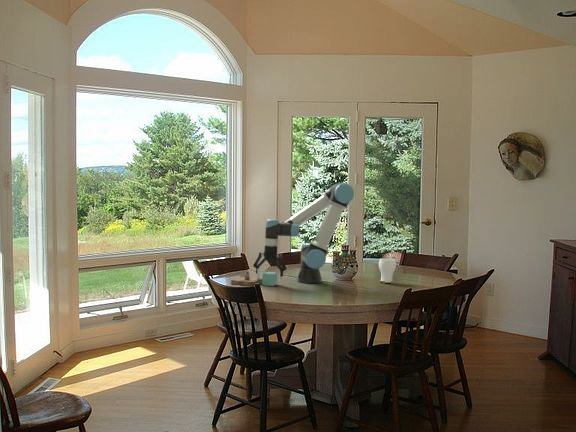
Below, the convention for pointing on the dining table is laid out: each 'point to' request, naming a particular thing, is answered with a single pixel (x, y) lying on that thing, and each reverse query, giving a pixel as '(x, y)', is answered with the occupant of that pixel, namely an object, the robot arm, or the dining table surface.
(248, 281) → the stand
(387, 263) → the cup
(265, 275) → the mint green cube
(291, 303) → the dining table surface
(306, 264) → the robot arm
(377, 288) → the dining table surface
